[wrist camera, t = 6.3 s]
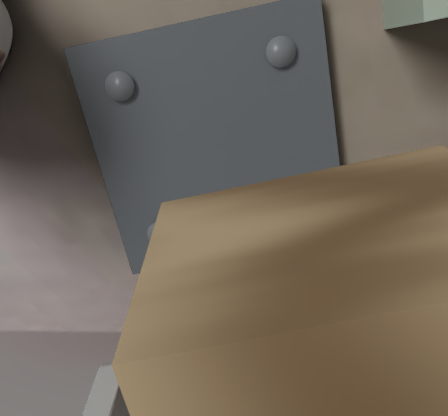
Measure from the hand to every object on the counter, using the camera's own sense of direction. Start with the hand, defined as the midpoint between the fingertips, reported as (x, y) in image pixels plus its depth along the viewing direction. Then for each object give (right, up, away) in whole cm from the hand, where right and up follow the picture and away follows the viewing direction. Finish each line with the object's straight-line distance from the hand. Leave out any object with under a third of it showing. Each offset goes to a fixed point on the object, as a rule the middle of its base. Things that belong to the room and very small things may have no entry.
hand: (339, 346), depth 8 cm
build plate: (-3, +6, +17) cm, 19 cm away
